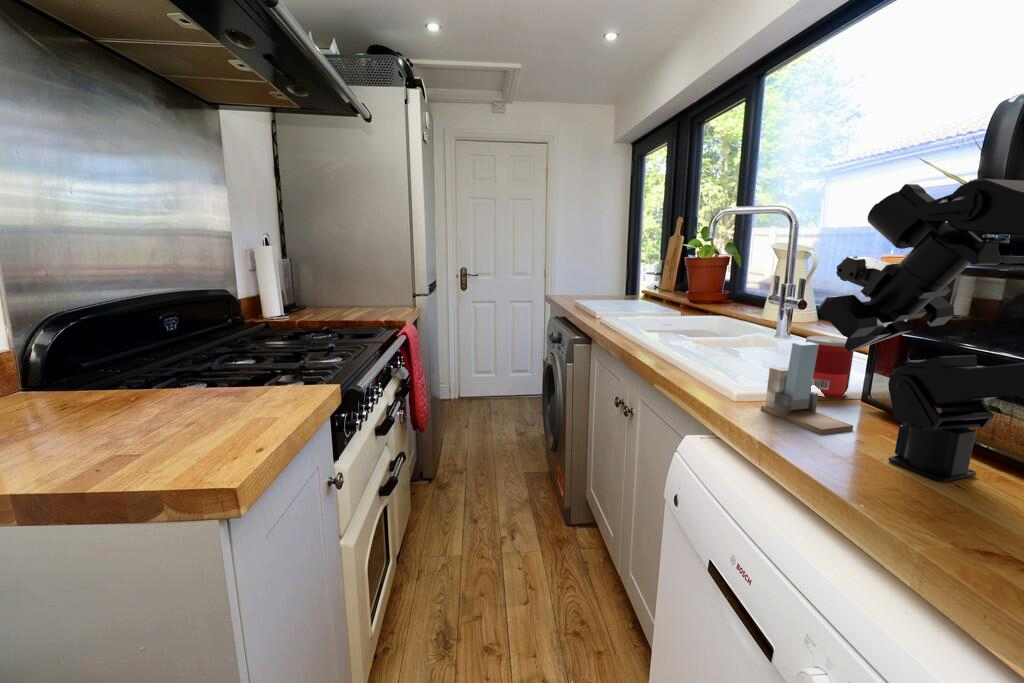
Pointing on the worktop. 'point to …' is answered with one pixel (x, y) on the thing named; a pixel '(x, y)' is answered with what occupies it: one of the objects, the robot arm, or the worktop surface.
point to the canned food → (831, 366)
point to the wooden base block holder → (804, 417)
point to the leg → (801, 374)
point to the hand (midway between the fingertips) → (848, 349)
